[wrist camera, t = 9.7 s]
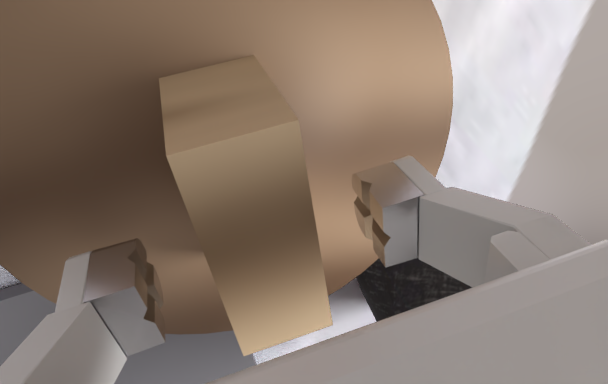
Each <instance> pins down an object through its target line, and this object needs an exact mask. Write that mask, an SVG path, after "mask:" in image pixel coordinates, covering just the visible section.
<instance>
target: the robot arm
mask: <svg viewBox="0 0 608 384" xmlns="http://www.w3.org/2000/svg"><path fill="white" fill-rule="evenodd" d="M352 188H353V190H354V191H355V193H356V194H357V198H356V200H355V201H354V208H355V215H356V218H357V222H358V225H359V227H360V229H361V231H362V233H363V234H364V236H365V237H366V238H367V239H370V240H372V241H373V250H374V251H375V253H376V254H377V256H378V257H379V259H380V260H381V262H382V263H383V265H384V266H385V268H386V267H389V266H393V265H396V264H399V263H402V262H406V261H409V260H412V259H415V258H419V260H421V261H423V262H425V263H427V264H429V265H431V266H433V267H435V268H436V269H438V270H440V271H442V272H444V273H446V274H448V275H450V276H452V277H454V278H455V279H457V280H459V281H461V282H463V283H465V284H467V285H469V286H471V287H473V288H470V289H467V290H465V291H462V292H459V293H456V294H453V295H451V296H448V297H445V298H442V299H439V300H437V301H434V302H431V303H428V304H425V305H423V306H420V307H417V308H414V309H411V310H409V311H406V312H403V313H400V314H397V315H395V316H392V317H389V318H386V319H383V320H381V321H378V322H375V323H372V324H369V325H366V326H364V327H361V328H358V329H355V330H353V331H350V332H347V333H344V334H341V335H339V336H336V337H333V338H330V339H327V340H325V341H322V342H319V343H316V344H314V345H311V346H308V347H305V348H302V349H300V350H297V351H294V352H291V353H289V354H286V355H283V356H280V357H277V358H275V359H272V360H269V361H266V362H264V363H261V364H258V365H255V366H252V367H250V368H247V369H244V370H241V371H239V372H236V373H233V374H230V375H227V376H225V377H222V378H219V379H216V380H213V381H211V382H208V383H205V384H608V239H606V240H603V241H601V242H598V243H595V244H592V245H591V244H590V243H589V242H588V241H586V240H585V239H584V238H583V237H581V236H580V235H579V234H577V233H576V232H575V231H573V230H572V229H571V228H570V227H568V226H567V225H566V224H565V223H563V222H562V221H561V220H559V219H558V218H557V217H556V216H554V215H553V214H550V213H546V212H543V211H539V210H535V209H532V208H528V207H524V206H521V205H517V204H513V203H510V202H506V201H502V200H499V199H495V198H491V197H488V196H484V195H480V194H477V193H473V192H469V191H465V190H462V189H458V188H454V187H450V188H445V187H444V186H443V185H442V184H441V183H440V182H439V181H438V180H437V179H436V178H435V177H434V176H433V175H432V174H431V173H429V172H428V171H427V170H426V169H425V168H424V167H423V166H422V165H421V164H420V163H419V162H418V161H417V160H416V159H415V158H414V157H412V156H406V157H403V158H400V159H397V160H394V161H391V162H390V163H386V164H383V165H380V166H377V167H374V168H370V169H367V170H364V171H361V172H357V173H354V174H352ZM163 304H164V302H163V292H162V287H161V283H160V280H159V277H158V274H157V272H156V270H155V267H154V265H152V264H150V263H148V262H147V253H146V249H145V247H144V246H143V244H142V242H141V240H139V239H138V238H136V239H132V240H129V241H125V242H121V243H118V244H114V245H111V246H107V247H103V248H100V249H96V250H93V251H89V252H86V253H82V254H79V255H76V256H72V257H69V258H68V259H67V260H66V262H65V266H64V271H63V275H62V280H61V285H60V289H59V294H58V299H57V303H56V308H55V313H52V314H49V315H47V316H46V317H45V318H44V319H43V320H42V321H41V322H40V323H39V325H38V326H37V327H36V328H35V329H34V330H33V331H32V332H31V333H30V334H29V336H28V337H27V338H26V339H25V340H24V341H23V342H22V343H21V344H20V345H19V346H18V348H17V349H16V350H15V351H14V352H13V353H12V354H11V355H10V356H9V357H8V359H7V360H6V361H5V362H4V363H3V364H2V365H1V366H0V384H114V383H115V381H116V379H117V377H118V375H119V373H120V371H121V370H122V368H123V366H124V364H125V362H126V360H127V356H130V355H133V354H135V353H138V352H141V351H143V350H146V349H149V348H152V347H154V346H157V345H160V344H162V343H165V320H164V317H163V315H162V313H161V311H160V308H161V307H162V305H163Z"/></svg>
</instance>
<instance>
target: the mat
mask: <svg viewBox="0 0 608 384" xmlns="http://www.w3.org/2000/svg"><path fill="white" fill-rule="evenodd" d="M55 308H56V304H55V303H53V302H51V301H49V300H47V299H46V298H44V297H43V296H41V295H40V294H38V293H37V292H35V291H34V290H32V289H30V288H29V287H27V286H26V285H24V284H23V283H20V284H17V285H14V286H11V287H7V288H4V289H1V290H0V366H1V365H2V364H3V363H4V362H5V361H6V360H7V359H8V357H9V356H10V355H11V354H12V353H13V352H14V351H15V350H16V349H17V348H18V346H19V345H20V344H21V343H22V342H23V341H24V340H25V339H26V338H27V337H28V336H29V334H30V333H31V332H32V331H33V330H34V329H35V328H36V327H37V326H38V325H39V323H40V322H41V321H42V320H43V319H44V318H45V317H46V316H47V315H49V314H52V313H55ZM255 365H257V364H256V362H255V359H254V356H253V353H252V354H249V355H246V356H243V353H242V351H241V348H240V346H239V343H238V341H237V338H236V335H235V333H234V330H232V331H224V332H216V333H208V334H182V335H178V334H165V343H162V344H160V345H157V346H154V347H152V348H149V349H146V350H143V351H141V352H138V353H135V354H133V355H130V356H127V360H126V362H125V364H124V366H123V368H122V370H121V371H120V373H119V375H118V377H117V379H116V381H115V383H114V384H205V383H208V382H211V381H213V380H216V379H219V378H222V377H225V376H227V375H230V374H233V373H236V372H239V371H241V370H244V369H247V368H250V367H252V366H255Z"/></svg>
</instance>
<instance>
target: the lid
mask: <svg viewBox="0 0 608 384" xmlns="http://www.w3.org/2000/svg"><path fill="white" fill-rule="evenodd" d="M452 107H453V76H452V69H451V62H450V54H449V48H448V45H447V41H446V38H445V34H444V30H443V27H442V23H441V20H440V18H439V16H438V13H437V11H436V9H435V7H434V4H433V2H432V0H0V265H1V266H2V267H4V268H5V269H6V270H7V271H8V272H10V273H11V274H12V275H13V276H14V277H16V278H17V279H18V280H19V281H20V282H21V283H23V284H24V285H26V286H27V287H29V288H30V289H32V290H34V291H35V292H37V293H38V294H40V295H41V296H43V297H44V298H46V299H47V300H49V301H51V302H53V303H55V304H56V303H57V299H58V294H59V289H60V285H61V280H62V275H63V271H64V266H65V262H66V260H67V259H68V258H69V257H72V256H76V255H79V254H82V253H86V252H89V251H93V250H96V249H100V248H103V247H107V246H111V245H114V244H118V243H121V242H125V241H129V240H132V239H136V238H138V239H139V240H141V242H142V244H143V246H144V247H145V249H146V253H147V262H148V263H150V264H152V265H154V267H155V270H156V272H157V274H158V277H159V280H160V283H161V287H162V292H163V302H164V304H163V305H162V307H161V308H160V311H161V313H162V315H163V317H164V320H165V334H178V335H182V334H208V333H216V332H224V331H232V330H234V333H235V335H236V338H237V341H238V343H239V346H240V348H241V351H242V353H243V356H246V355H249V354H252V353H255V352H258V351H260V350H263V349H266V348H269V347H272V346H275V345H277V344H280V343H283V342H286V341H289V340H292V339H294V338H297V337H300V336H303V335H306V334H309V333H311V332H314V331H317V330H320V329H323V328H326V327H328V326H331V325H333V323H332V317H331V311H330V305H329V299H328V296H329V295H330V294H332V293H334V292H335V291H337V290H339V289H340V288H342V287H343V286H345V285H346V284H347V283H349V282H350V281H352V280H353V279H354V278H356V277H357V276H358V275H360V274H361V273H362V272H364V271H365V270H366V269H367V268H368V267H369V266H370V265H372V264H373V263H374V262H375V261H376V260H377V259H378V258H379V257H378V256H377V254H376V253H375V251H374V250H373V241H372V240H370V239H367V238H366V237H365V236H364V234H363V233H362V231H361V229H360V227H359V225H358V222H357V218H356V215H355V208H354V201H355V200H356V198H357V194H356V193H355V191H354V190H353V188H352V174H354V173H357V172H361V171H364V170H367V169H370V168H374V167H377V166H380V165H383V164H386V163H390V162H391V161H394V160H397V159H400V158H403V157H406V156H412V157H414V158H415V159H416V160H417V161H418V162H419V163H420V164H421V165H422V166H423V167H424V168H425V169H426V170H427V171H428V172H429V173H431V174H432V175H433V176H434V177H436V174H437V172H438V169H439V166H440V164H441V161H442V158H443V155H444V151H445V147H446V143H447V139H448V135H449V131H450V123H451V115H452Z"/></svg>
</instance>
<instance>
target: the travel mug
mask: <svg viewBox="0 0 608 384" xmlns="http://www.w3.org/2000/svg"><path fill="white" fill-rule="evenodd" d="M357 279H358V283H359V286H360V288H361V290H362V292H363V295H364V297H365V299H366V301H367V303H368V305H369V307H370V309H371V311H372V313H373V315H374V317H375V319H376V321H377V322H378V321H381V320H383V319H386V318H389V317H392V316H395V315H397V314H400V313H403V312H406V311H409V310H411V309H414V308H417V307H420V306H423V305H425V304H428V303H431V302H434V301H437V300H439V299H442V298H445V297H448V296H451V295H453V294H456V293H459V292H462V291H465V290H467V289H470V288H473V287H471V286H469V285H467V284H465V283H463V282H461V281H459V280H457V279H455V278H454V277H452V276H450V275H448V274H446V273H444V272H442V271H440V270H438V269H436V268H435V267H433V266H431V265H429V264H427V263H425V262H423V261H421V260H419V258H415V259H412V260H409V261H406V262H402V263H399V264H396V265H393V266H389V267H386V268H385V266H384V265H383V263H382V262H381V260H380V259H379V258H378V259H377V260H376V261H375V262H374V263H373V264H372V265H370V266H369V267H368V268H367V269H366V270H365V271H364V272H362V273H361V274H360V275H358V276H357Z"/></svg>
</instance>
